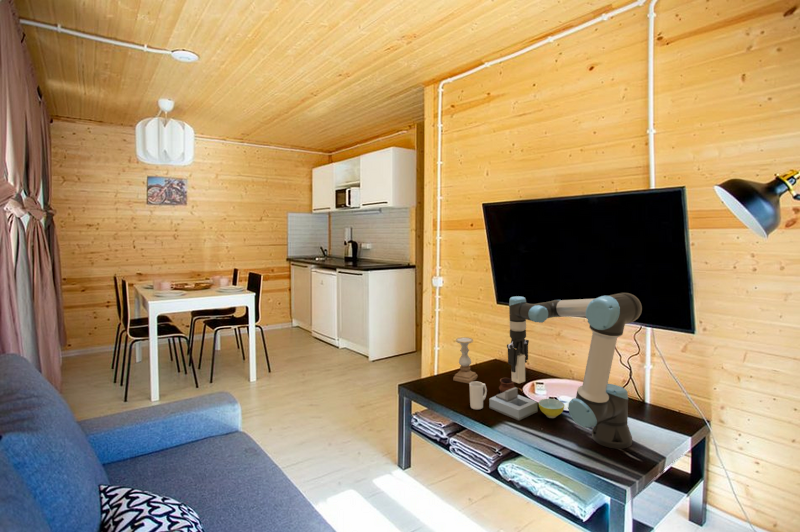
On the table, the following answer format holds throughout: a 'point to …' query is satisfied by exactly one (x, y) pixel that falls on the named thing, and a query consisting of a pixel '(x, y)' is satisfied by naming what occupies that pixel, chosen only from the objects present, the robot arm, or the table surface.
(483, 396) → the mug
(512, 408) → the socket
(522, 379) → the beige square bottle
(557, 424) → the table surface
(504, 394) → the grey wedge block
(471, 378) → the candle holder
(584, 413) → the robot arm
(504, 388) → the ceramic pot
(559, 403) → the bowl
